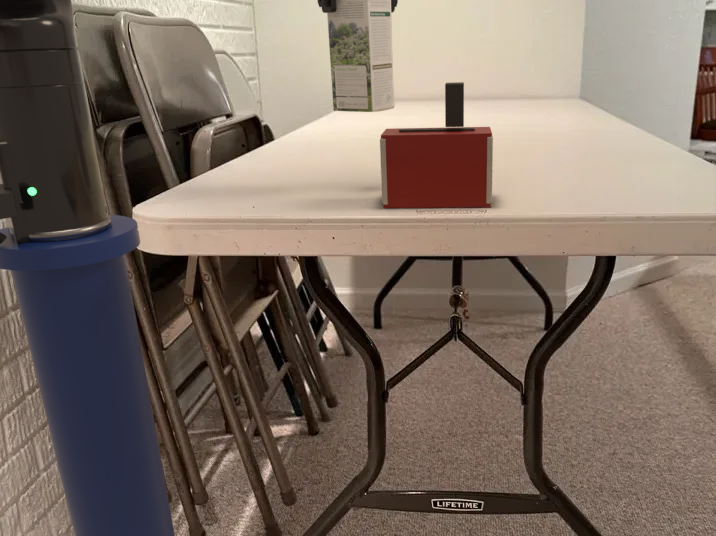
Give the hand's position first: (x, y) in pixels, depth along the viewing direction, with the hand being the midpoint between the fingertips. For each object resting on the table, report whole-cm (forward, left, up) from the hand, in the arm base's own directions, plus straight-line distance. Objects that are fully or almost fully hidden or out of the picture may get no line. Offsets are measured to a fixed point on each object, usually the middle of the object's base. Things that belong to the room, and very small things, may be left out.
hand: (359, 12), depth 83 cm
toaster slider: (+4, -13, -12) cm, 18 cm away
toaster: (+2, -12, -21) cm, 24 cm away
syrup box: (0, 0, -11) cm, 11 cm away
